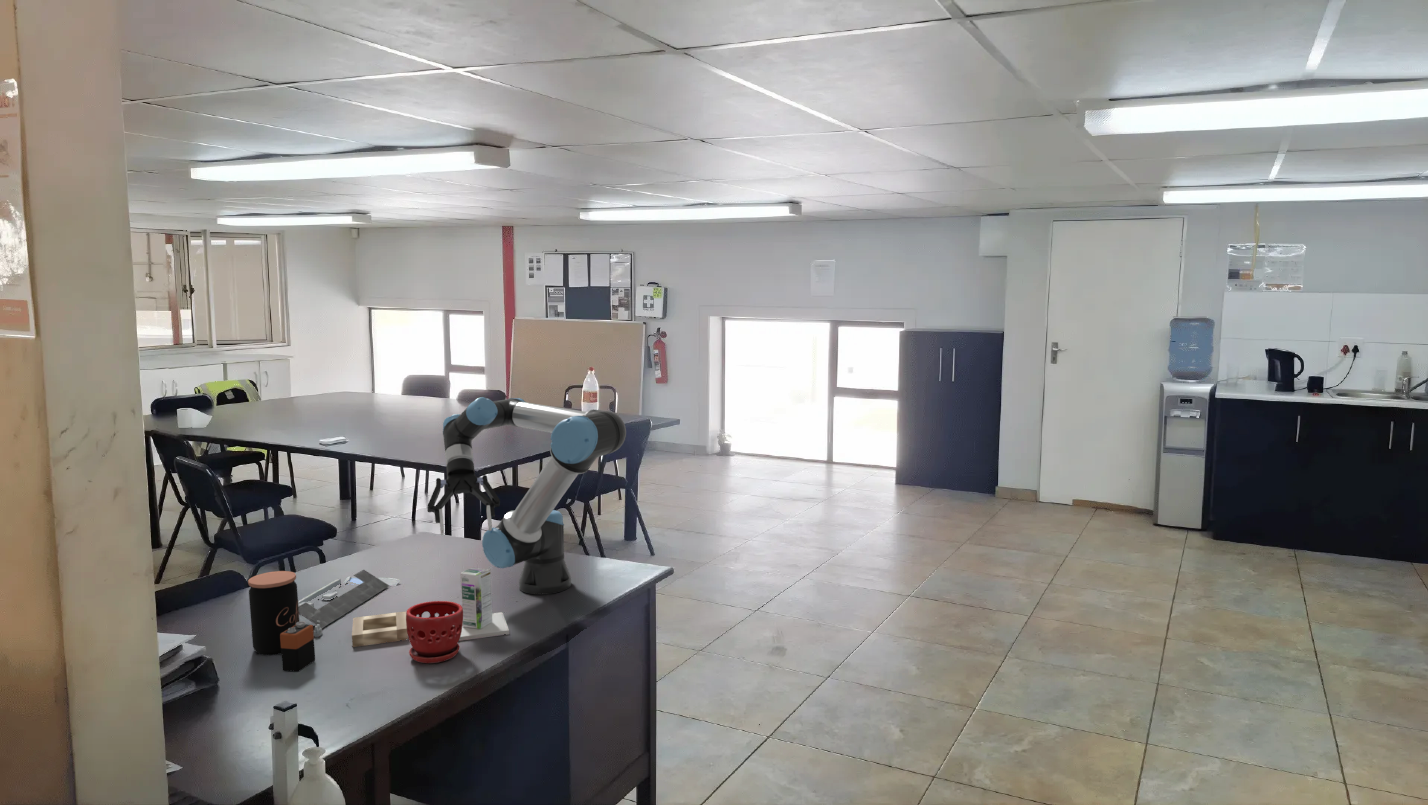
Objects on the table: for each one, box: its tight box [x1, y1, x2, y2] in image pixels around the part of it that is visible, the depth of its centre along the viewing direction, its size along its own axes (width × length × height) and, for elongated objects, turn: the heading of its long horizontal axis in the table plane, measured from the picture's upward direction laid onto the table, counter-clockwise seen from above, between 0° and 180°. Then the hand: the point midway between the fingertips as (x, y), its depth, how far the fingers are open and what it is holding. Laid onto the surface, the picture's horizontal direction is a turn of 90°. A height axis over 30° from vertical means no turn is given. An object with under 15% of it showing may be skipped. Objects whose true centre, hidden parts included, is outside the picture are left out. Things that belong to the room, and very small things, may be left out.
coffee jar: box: [247, 570, 300, 656], centre depth 223 cm, size 11×11×18 cm
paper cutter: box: [298, 569, 401, 638], centre depth 254 cm, size 18×45×6 cm, turn 171°
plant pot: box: [406, 600, 463, 664], centre depth 218 cm, size 13×13×12 cm
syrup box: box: [460, 567, 493, 629], centre depth 235 cm, size 6×6×14 cm
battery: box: [280, 620, 316, 673], centre depth 213 cm, size 4×7×10 cm, turn 169°
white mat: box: [458, 611, 510, 642], centre depth 236 cm, size 14×14×1 cm
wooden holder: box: [351, 610, 409, 648], centre depth 232 cm, size 13×13×3 cm
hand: (466, 530), depth 244 cm, fingers open, 12 cm apart
